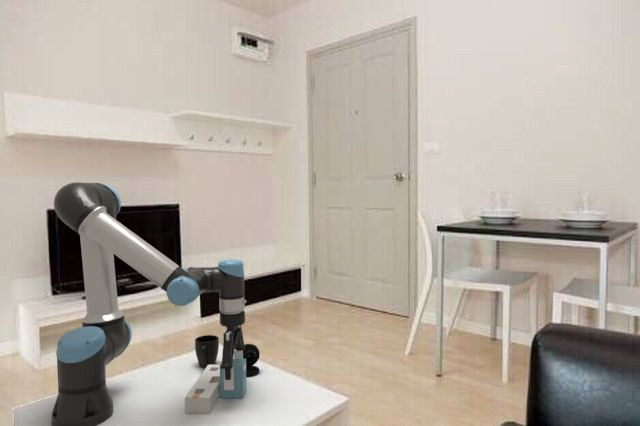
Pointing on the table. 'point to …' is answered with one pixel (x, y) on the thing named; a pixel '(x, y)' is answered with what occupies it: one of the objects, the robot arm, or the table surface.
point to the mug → (206, 350)
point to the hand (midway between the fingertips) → (234, 379)
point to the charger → (239, 380)
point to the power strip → (204, 391)
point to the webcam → (251, 359)
